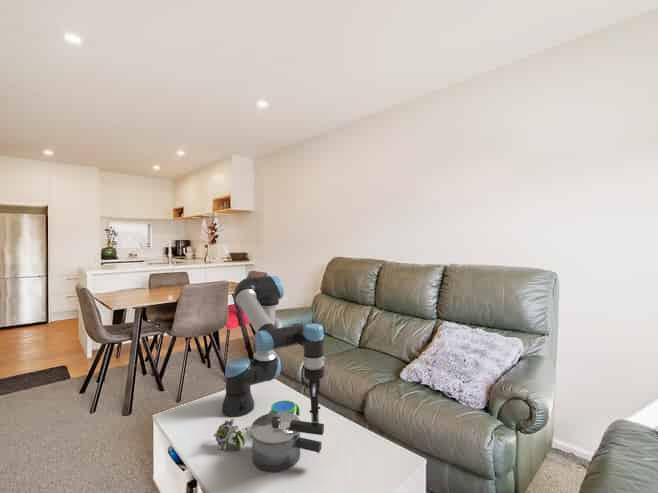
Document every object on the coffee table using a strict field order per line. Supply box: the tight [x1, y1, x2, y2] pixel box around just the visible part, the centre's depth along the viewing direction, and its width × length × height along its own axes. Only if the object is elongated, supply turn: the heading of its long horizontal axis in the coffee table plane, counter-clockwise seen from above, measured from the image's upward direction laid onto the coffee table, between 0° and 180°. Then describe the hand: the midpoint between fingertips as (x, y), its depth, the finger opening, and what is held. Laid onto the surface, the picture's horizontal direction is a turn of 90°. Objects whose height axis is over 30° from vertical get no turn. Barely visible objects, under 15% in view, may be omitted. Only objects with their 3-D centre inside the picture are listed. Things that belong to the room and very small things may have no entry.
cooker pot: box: [251, 432, 323, 474], centre depth 126 cm, size 18×27×10 cm, turn 70°
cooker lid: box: [250, 412, 325, 445], centre depth 126 cm, size 28×19×4 cm
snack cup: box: [268, 399, 301, 417], centre depth 145 cm, size 16×10×10 cm
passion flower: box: [213, 418, 249, 451], centre depth 134 cm, size 11×11×12 cm
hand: (315, 427), depth 126 cm, fingers closed
